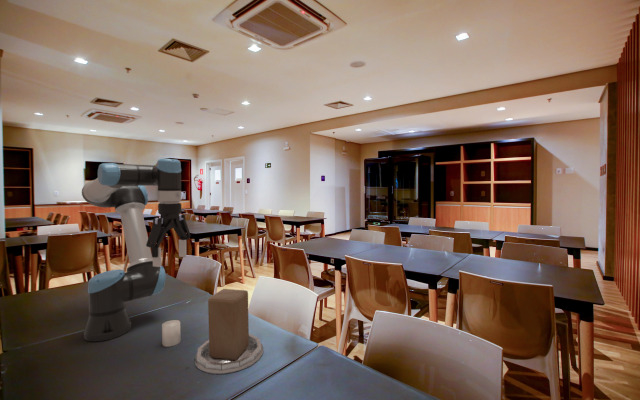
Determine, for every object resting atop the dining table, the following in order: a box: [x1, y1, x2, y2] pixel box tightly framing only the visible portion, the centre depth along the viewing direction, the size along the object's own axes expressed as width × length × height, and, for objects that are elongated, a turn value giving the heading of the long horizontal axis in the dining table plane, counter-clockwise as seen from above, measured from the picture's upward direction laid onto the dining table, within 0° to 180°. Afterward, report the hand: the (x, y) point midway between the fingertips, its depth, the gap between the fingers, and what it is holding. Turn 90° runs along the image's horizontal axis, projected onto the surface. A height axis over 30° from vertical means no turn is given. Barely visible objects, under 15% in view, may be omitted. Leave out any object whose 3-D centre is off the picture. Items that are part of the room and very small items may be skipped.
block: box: [207, 288, 250, 360], centre depth 102 cm, size 10×10×20 cm
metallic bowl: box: [194, 333, 264, 375], centre depth 102 cm, size 22×22×2 cm
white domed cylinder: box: [161, 319, 182, 348], centre depth 110 cm, size 6×6×7 cm
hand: (170, 261), depth 109 cm, fingers open, 13 cm apart
